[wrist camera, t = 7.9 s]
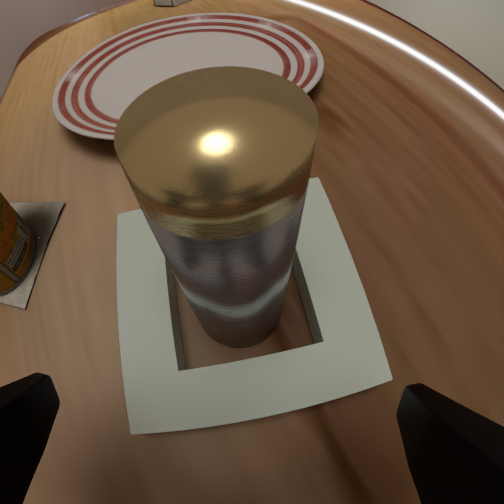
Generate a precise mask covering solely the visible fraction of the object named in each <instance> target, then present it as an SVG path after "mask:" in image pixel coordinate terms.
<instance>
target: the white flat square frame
mask: <svg viewBox="0 0 504 504" xmlns="http://www.w3.org/2000/svg"><path fill="white" fill-rule="evenodd" d="M292 268H293V271H294V275H295V278H296V281H297V285H298V288H299V292H300V295H301V299H302V302H303V306H304V309H305V313H306V316H307V320H308V323H309V327H310V330H311V334H312V338H313V341H314V344H312V345H308V346H304V347H300V348H296V349H292V350H287V351H283V352H279V353H274V354H269V355H265V356H260V357H255V358H250V359H245V360H240V361H235V362H230V363H224V364H219V365H213V366H207V367H201V368H195V369H188V370H186V365H185V358H184V352H183V345H182V338H181V331H180V324H179V316H178V308H177V300H176V292H175V283H174V274H173V272H172V270H171V268H170V266H169V264H168V262H167V260H166V258H165V256H164V254H163V252H162V250H161V248H160V246H159V244H158V242H157V240H156V238H155V236H154V234H153V232H152V230H151V228H150V226H149V224H148V222H147V220H146V218H145V216H144V214H143V212H142V210H141V209H138V210H134V211H129V212H125V213H120V214H118V220H117V306H118V326H119V341H120V353H121V364H122V374H123V382H124V391H125V398H126V405H127V412H128V419H129V425H130V431H131V434H147V433H160V432H171V431H181V430H189V429H197V428H205V427H212V426H218V425H225V424H231V423H236V422H242V421H247V420H253V419H258V418H262V417H267V416H272V415H276V414H281V413H285V412H289V411H293V410H297V409H301V408H305V407H309V406H313V405H316V404H320V403H324V402H327V401H330V400H334V399H337V398H341V397H344V396H347V395H350V394H353V393H356V392H359V391H362V390H365V389H368V388H371V387H374V386H377V385H380V384H382V383H385V382H388V381H391V380H393V379H392V375H391V372H390V368H389V365H388V362H387V358H386V355H385V352H384V349H383V345H382V342H381V339H380V336H379V333H378V330H377V327H376V324H375V321H374V318H373V315H372V312H371V309H370V306H369V303H368V300H367V297H366V294H365V292H364V289H363V286H362V283H361V281H360V278H359V275H358V272H357V270H356V267H355V264H354V262H353V259H352V257H351V254H350V251H349V249H348V246H347V244H346V241H345V239H344V236H343V234H342V231H341V229H340V226H339V224H338V222H337V219H336V217H335V214H334V212H333V210H332V207H331V205H330V203H329V200H328V198H327V196H326V193H325V191H324V189H323V186H322V184H321V182H320V180H319V177H318V178H311V179H309V183H308V188H307V193H306V198H305V204H304V209H303V214H302V219H301V224H300V229H299V234H298V239H297V243H296V248H295V253H294V258H293V262H292Z"/></svg>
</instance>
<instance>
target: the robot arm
mask: <svg viewBox="0 0 504 504" xmlns="http://www.w3.org/2000/svg"><path fill="white" fill-rule="evenodd" d="M59 405H60V401H59V397H58V394H57V392H56V389H55V387H54V384H53V381H52V379H51V377H50V376H48V375H46V374H42V373H34V374H32V375H29V376H27V377H24V378H22V379H20V380H17V381H15V382H12V383H10V384H7V385H5V386H3V387H0V504H23V501H24V499H25V496H26V494H27V491H28V489H29V486H30V483H31V481H32V479H33V476H34V474H35V471H36V469H37V467H38V464H39V462H40V460H41V457H42V455H43V452H44V450H45V447H46V444H47V441H48V438H49V435H50V432H51V429H52V426H53V423H54V420H55V417H56V415H57V412H58V409H59ZM397 420H398V424H399V428H400V432H401V436H402V441H403V445H404V449H405V453H406V458H407V462H408V466H409V469H410V472H411V475H412V478H413V481H414V484H415V486H416V489H417V492H418V495H419V498H420V501H421V504H504V427H503V426H501V425H499V424H497V423H495V422H493V421H491V420H490V419H488V418H486V417H484V416H482V415H480V414H478V413H476V412H474V411H472V410H470V409H468V408H467V407H465V406H463V405H461V404H459V403H457V402H455V401H453V400H451V399H450V398H448V397H446V396H444V395H442V394H440V393H438V392H437V391H435V390H433V389H431V388H429V387H427V386H425V385H424V384H421V383H417V384H411V385H407V386H406V387H405V388H404V390H403V393H402V396H401V399H400V403H399V406H398V409H397Z"/></svg>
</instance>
